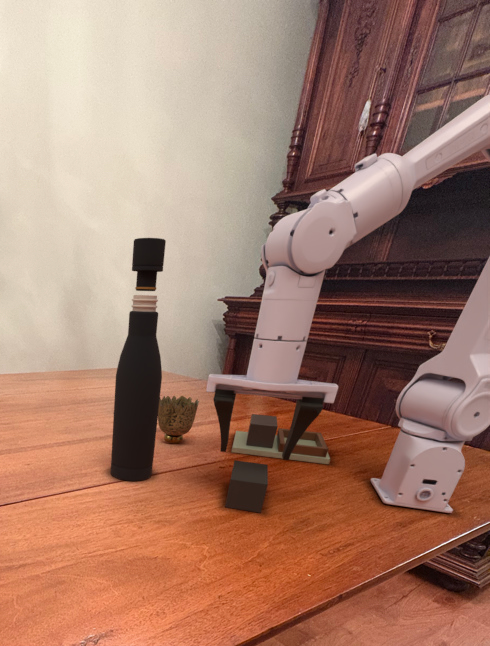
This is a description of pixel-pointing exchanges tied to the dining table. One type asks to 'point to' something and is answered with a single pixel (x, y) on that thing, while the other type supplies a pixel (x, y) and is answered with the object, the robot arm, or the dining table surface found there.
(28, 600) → the dining table surface
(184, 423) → the cup
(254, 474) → the loose block
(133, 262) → the black bottle
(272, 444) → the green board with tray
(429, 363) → the robot arm
